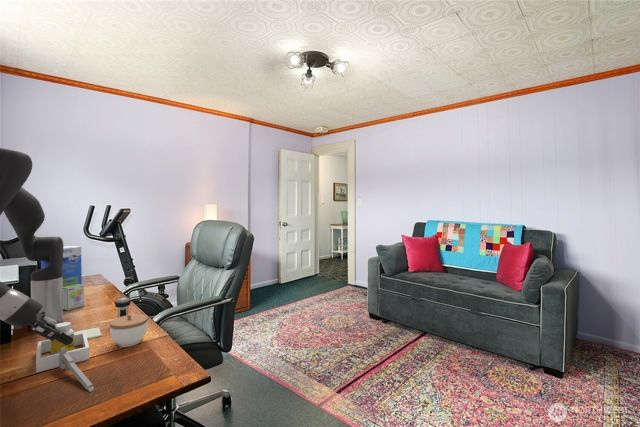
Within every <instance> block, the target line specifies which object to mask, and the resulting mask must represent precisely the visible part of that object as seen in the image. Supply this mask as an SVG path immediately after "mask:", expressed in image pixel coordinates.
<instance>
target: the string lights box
mask: <svg viewBox="0 0 640 427" xmlns="http://www.w3.org/2000/svg"><path fill="white" fill-rule="evenodd" d="M49 264H50V261H40V269H43V268H45V267H47V266H48V265H49ZM82 271H83V270H82V246H80V245H67V246H63V270H62V279H67V278H72V277H77V276H78V284H83V283H82V282H83V281H82V280H83V279H82V278H83V277H82V273H83V272H82ZM74 281H75V280H69V281H66V283H69V282H74Z"/></svg>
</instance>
